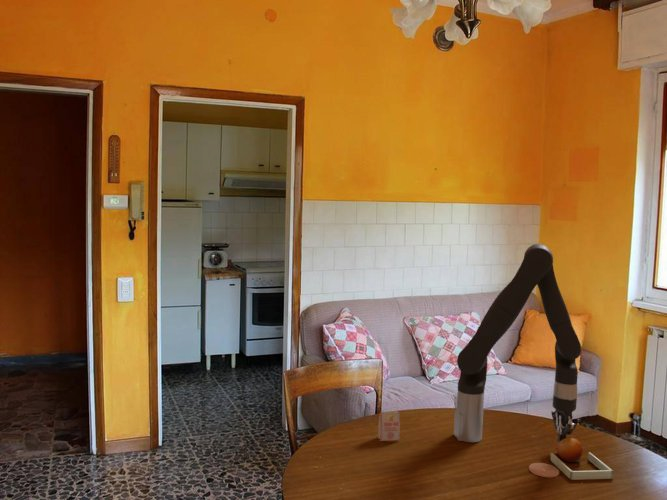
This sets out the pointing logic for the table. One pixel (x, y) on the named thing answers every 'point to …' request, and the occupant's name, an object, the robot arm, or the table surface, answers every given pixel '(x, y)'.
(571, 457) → the fruit
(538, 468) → the pink shiny oval part
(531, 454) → the table surface
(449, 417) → the table surface
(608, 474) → the pale gray u-shaped frame
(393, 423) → the tea bag
